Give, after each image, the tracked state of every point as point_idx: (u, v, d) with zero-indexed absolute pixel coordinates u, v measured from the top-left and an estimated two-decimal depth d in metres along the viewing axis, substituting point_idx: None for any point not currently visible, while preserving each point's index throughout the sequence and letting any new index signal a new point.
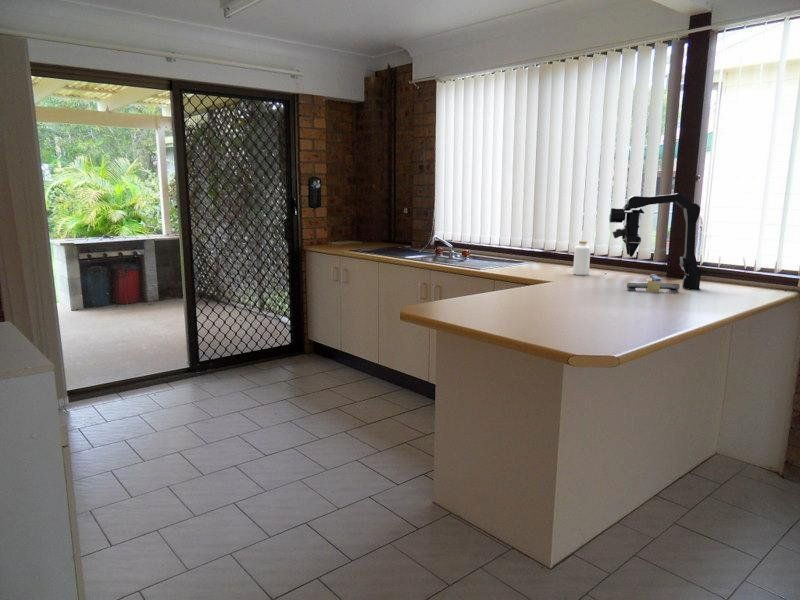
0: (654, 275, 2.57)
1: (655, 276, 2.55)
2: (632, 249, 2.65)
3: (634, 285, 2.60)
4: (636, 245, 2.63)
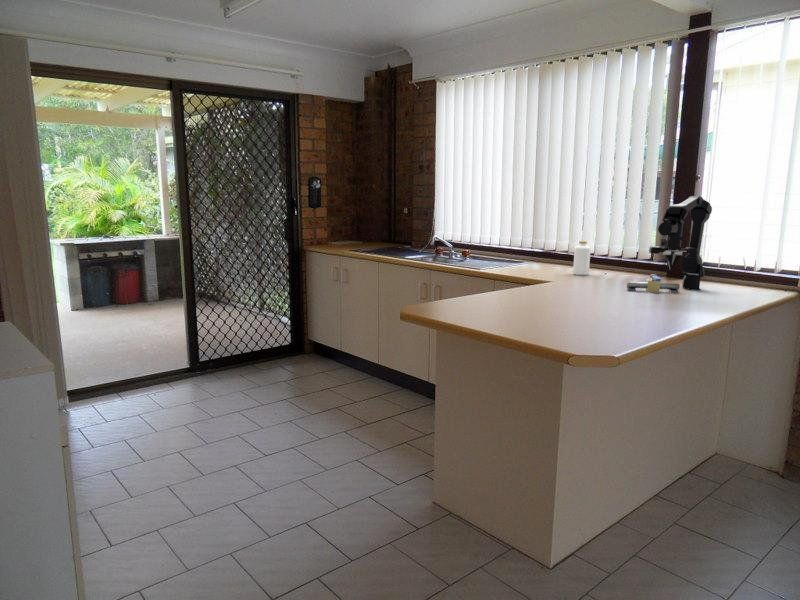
0: (654, 275, 2.57)
1: (655, 276, 2.55)
2: (668, 261, 2.49)
3: (634, 285, 2.60)
4: (668, 257, 2.47)
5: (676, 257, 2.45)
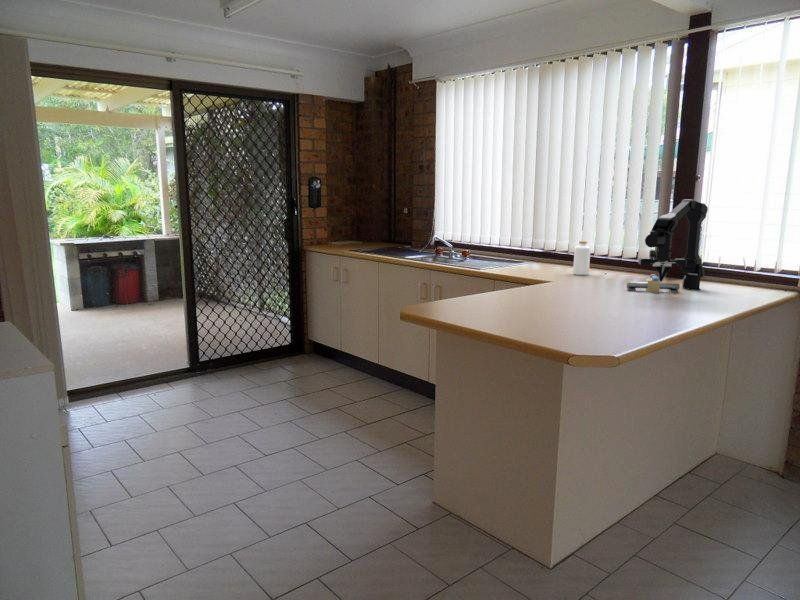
0: (654, 275, 2.57)
1: (654, 276, 2.55)
2: (658, 273, 2.49)
3: (634, 285, 2.60)
4: (657, 269, 2.48)
5: (665, 268, 2.46)
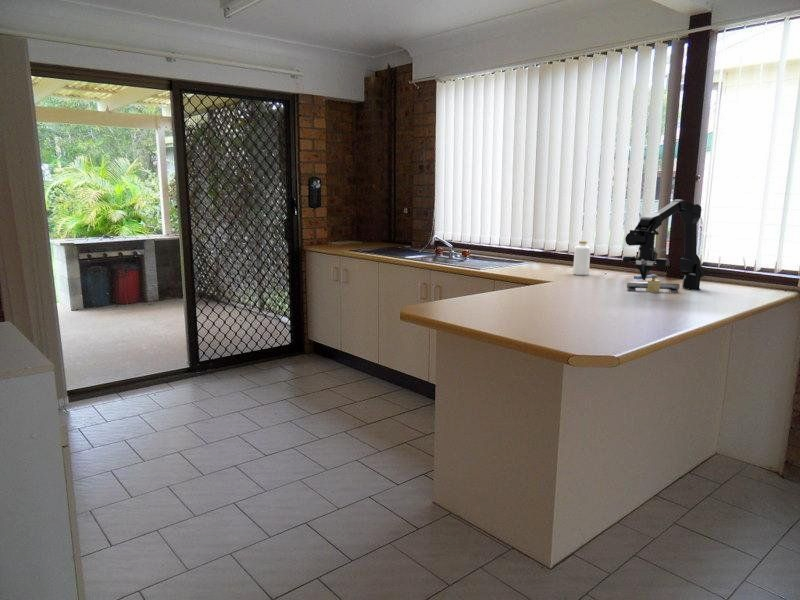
0: (651, 275, 2.58)
1: (648, 275, 2.57)
2: None
3: (634, 285, 2.60)
4: None
5: (645, 267, 2.50)
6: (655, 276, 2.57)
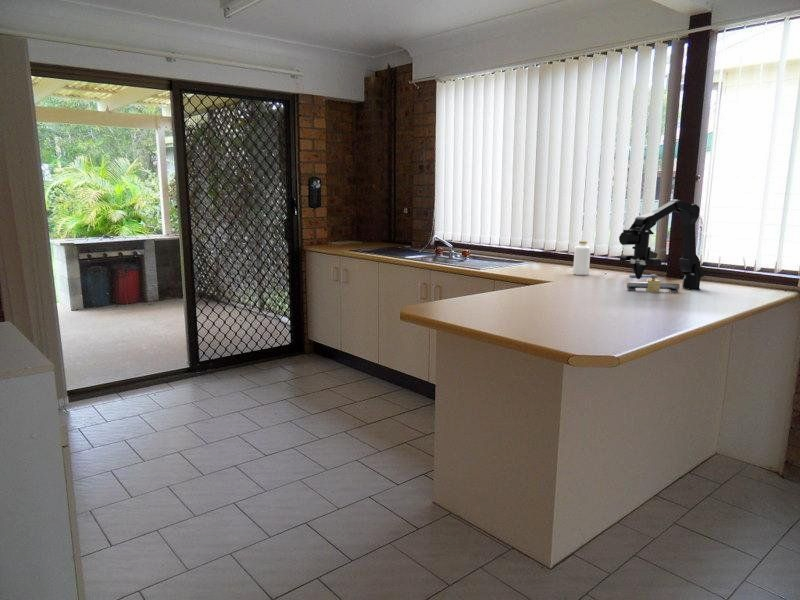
0: (650, 275, 2.58)
1: (647, 275, 2.58)
2: None
3: (634, 285, 2.60)
4: None
5: (637, 266, 2.53)
6: (654, 276, 2.57)
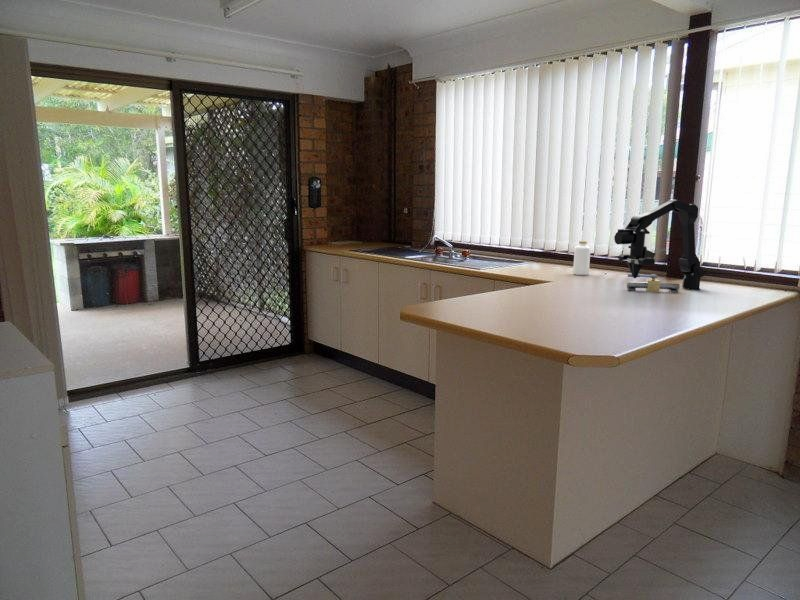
0: None
1: (646, 275, 2.59)
2: None
3: (634, 285, 2.60)
4: None
5: (632, 265, 2.56)
6: (653, 276, 2.57)
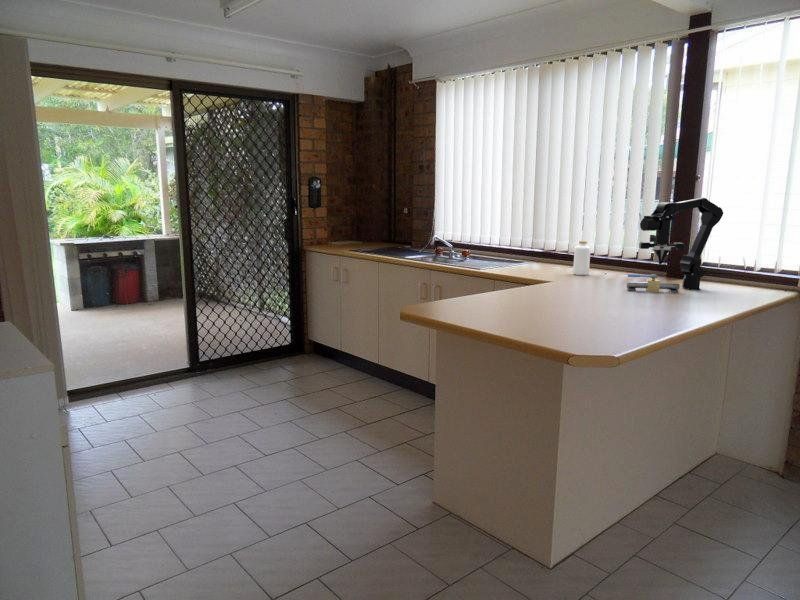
0: None
1: (646, 275, 2.59)
2: (657, 256, 2.60)
3: (634, 285, 2.60)
4: (657, 252, 2.58)
5: (665, 252, 2.57)
6: (653, 276, 2.57)
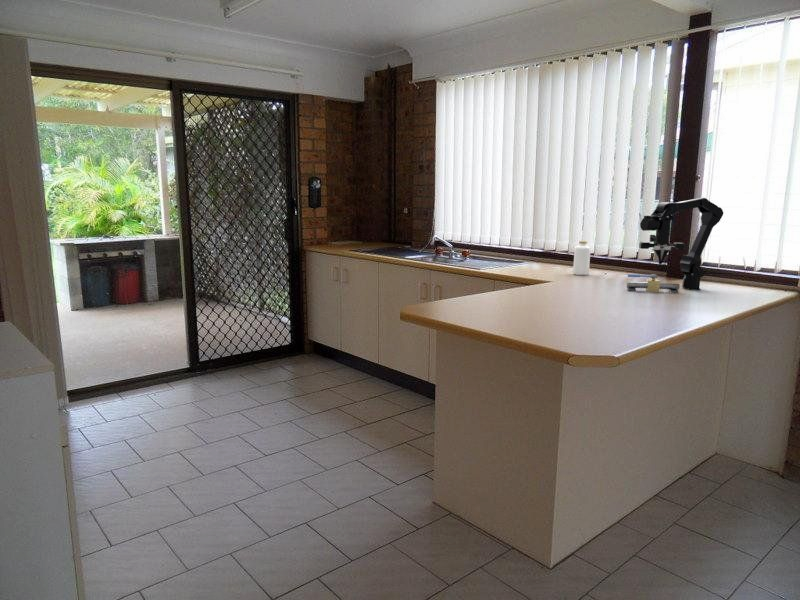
0: None
1: (646, 275, 2.59)
2: (657, 256, 2.60)
3: (634, 285, 2.60)
4: (657, 252, 2.58)
5: (665, 252, 2.57)
6: (653, 276, 2.57)
